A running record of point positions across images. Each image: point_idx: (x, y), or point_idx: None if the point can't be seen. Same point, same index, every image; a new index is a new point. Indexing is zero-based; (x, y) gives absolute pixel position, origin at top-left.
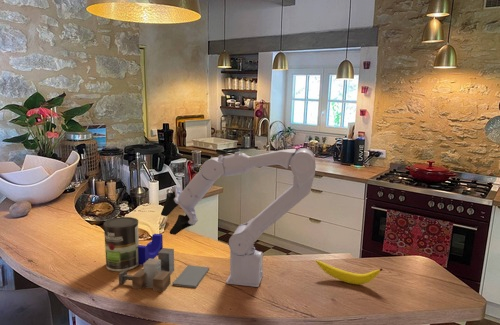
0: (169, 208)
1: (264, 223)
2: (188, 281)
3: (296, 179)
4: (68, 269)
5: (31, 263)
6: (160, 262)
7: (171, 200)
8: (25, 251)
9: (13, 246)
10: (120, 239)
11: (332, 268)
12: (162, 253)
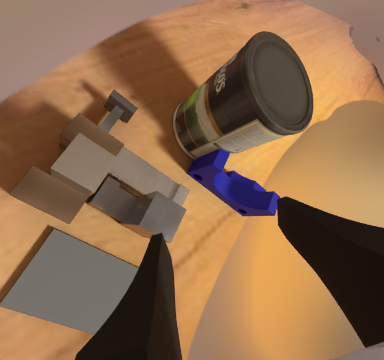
0: (313, 245)
1: None
2: (47, 278)
3: None
4: (204, 40)
5: (236, 3)
6: (91, 192)
7: (373, 274)
8: (272, 11)
9: (286, 4)
10: (219, 85)
11: None
12: (149, 204)
